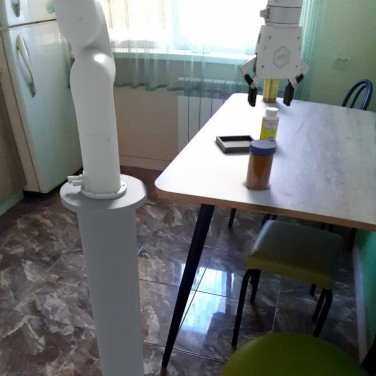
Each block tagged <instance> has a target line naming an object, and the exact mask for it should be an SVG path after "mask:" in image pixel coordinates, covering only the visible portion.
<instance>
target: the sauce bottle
mask: <svg viewBox="0 0 376 376" xmlns="http://www.w3.org/2000/svg"><path fill="white" fill-rule="evenodd" d="M279 83H280V79H264V82H263V89H262V91H263V92H262V101H263V102H265V103H275V102H276V101H277V99H278V92H279Z"/></svg>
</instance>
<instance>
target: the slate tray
mask: <svg viewBox="0 0 376 376" xmlns="http://www.w3.org/2000/svg"><path fill="white" fill-rule="evenodd" d="M253 140H256V139H255V138H254V137H253V136H252V135H251V134H241V135H240V134H239V135H216V137H215V142H216V144H217V145H218V146H219V148H220V149H221V150H222V151H223V153H224V154H237V153H240V154H241V153H250V151H249V147H250V142H251V141H253Z"/></svg>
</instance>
